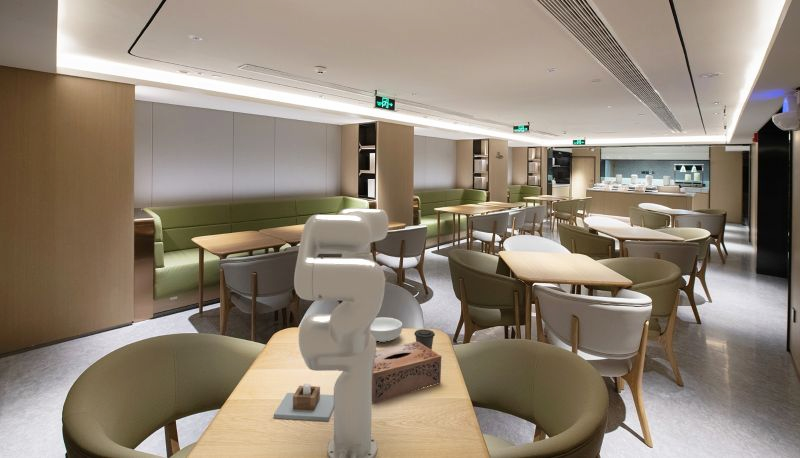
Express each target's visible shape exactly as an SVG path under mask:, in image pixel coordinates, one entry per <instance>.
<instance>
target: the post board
mask: <svg viewBox="0 0 800 458" xmlns="http://www.w3.org/2000/svg"><path fill="white" fill-rule="evenodd" d="M302 386H303V395H311V386H312V385H311V384H310V383H304V384H303V385H302ZM294 394H295V392H287V393H286V395H284V398H283V399H282V401H281V402H280V404H279V405H278V407H277V409H276V410H275V412H274V413H273V419H284V420H300V421H301V420H302V421H303V420H304V421H321V422H329V421H330V420H331V417H332V415H333V414H332V413H333V412H334V394H321V393H320V400H319V402H318V404H317V406H316V408H315V410H296V409H293V395H294Z"/></svg>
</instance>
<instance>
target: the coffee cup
mask: <svg viewBox="0 0 800 458" xmlns="http://www.w3.org/2000/svg"><path fill="white" fill-rule="evenodd" d="M413 334H414V336H415V342H420V343H421V344H423V345H424V346H426V347H427V348H429V349H431V350H432V348H433V343H434V337H435V336H436V335H435V332H434V331H433V330H430V329H421V328H420V329H417V330H416V331H415V332H414V333H413ZM432 351H433V350H432Z"/></svg>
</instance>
